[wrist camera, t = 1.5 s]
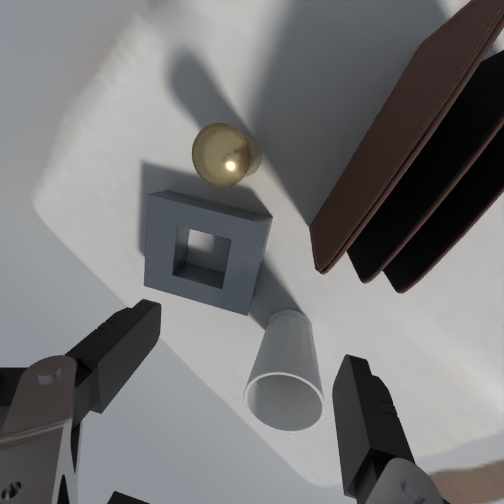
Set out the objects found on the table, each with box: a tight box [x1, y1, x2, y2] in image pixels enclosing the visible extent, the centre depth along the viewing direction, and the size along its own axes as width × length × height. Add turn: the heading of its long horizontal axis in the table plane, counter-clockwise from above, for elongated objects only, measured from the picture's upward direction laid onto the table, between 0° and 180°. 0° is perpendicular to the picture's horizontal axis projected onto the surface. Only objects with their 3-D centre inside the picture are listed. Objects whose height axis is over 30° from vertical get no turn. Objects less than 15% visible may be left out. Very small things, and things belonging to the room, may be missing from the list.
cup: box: [244, 309, 325, 433], centre depth 31 cm, size 8×8×12 cm
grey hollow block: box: [144, 190, 273, 316], centre depth 32 cm, size 12×14×4 cm
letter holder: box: [309, 0, 504, 293], centre depth 21 cm, size 10×20×14 cm, turn 154°
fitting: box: [192, 123, 262, 187], centre depth 25 cm, size 5×5×9 cm
